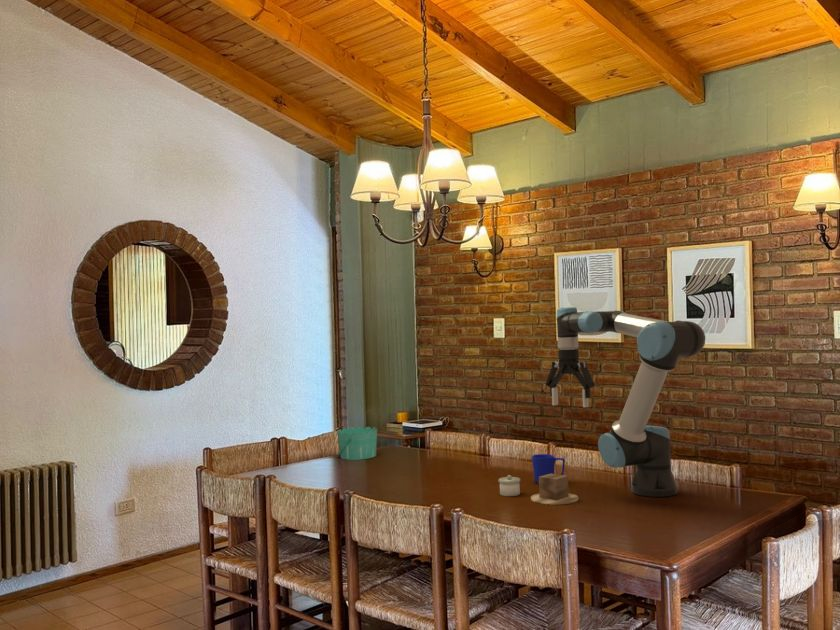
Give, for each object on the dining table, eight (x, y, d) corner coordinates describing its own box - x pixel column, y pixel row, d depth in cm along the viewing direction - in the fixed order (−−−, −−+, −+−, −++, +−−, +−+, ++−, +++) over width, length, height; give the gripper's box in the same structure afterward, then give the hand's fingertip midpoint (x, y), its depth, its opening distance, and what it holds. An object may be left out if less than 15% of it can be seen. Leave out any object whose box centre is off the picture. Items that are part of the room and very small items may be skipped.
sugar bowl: (525, 493, 263) (524, 474, 263) (512, 497, 258) (512, 478, 258) (507, 490, 268) (506, 472, 268) (494, 494, 263) (494, 476, 263)
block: (568, 496, 253) (567, 475, 253) (556, 500, 248) (555, 479, 248) (551, 493, 258) (551, 473, 258) (539, 497, 253) (538, 476, 253)
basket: (361, 461, 337) (360, 433, 337) (329, 458, 347) (329, 431, 347) (385, 454, 353) (384, 427, 353) (355, 452, 363) (354, 425, 363)
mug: (565, 485, 274) (564, 458, 274) (532, 485, 276) (531, 457, 276) (565, 480, 282) (564, 454, 282) (533, 480, 284) (532, 454, 284)
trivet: (588, 498, 253) (588, 496, 253) (560, 507, 242) (560, 505, 242) (549, 491, 264) (549, 489, 264) (521, 500, 253) (521, 498, 253)
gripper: (603, 348, 270) (605, 406, 270) (547, 348, 288) (549, 403, 288) (591, 349, 265) (593, 408, 265) (535, 349, 283) (537, 405, 283)
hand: (570, 406), depth 276 cm, fingers open, 13 cm apart
